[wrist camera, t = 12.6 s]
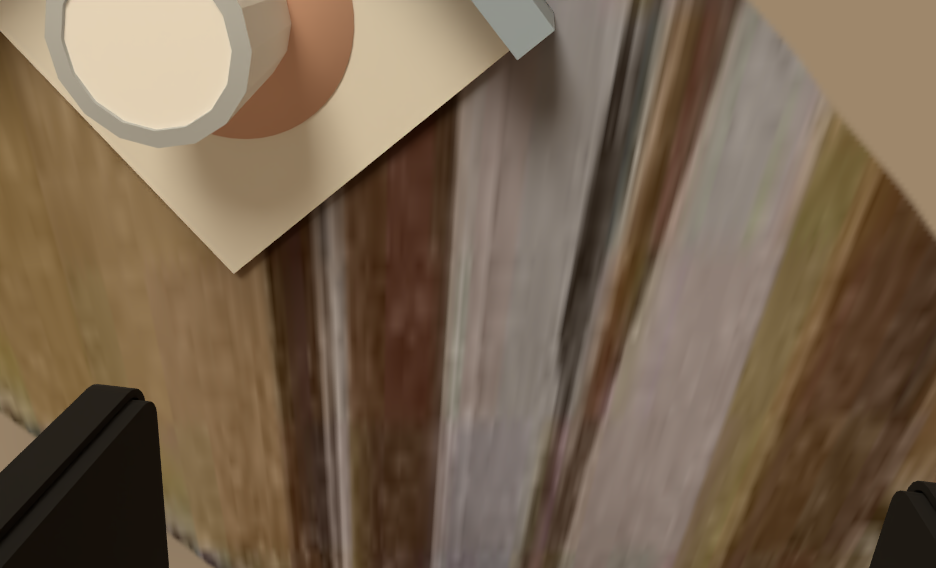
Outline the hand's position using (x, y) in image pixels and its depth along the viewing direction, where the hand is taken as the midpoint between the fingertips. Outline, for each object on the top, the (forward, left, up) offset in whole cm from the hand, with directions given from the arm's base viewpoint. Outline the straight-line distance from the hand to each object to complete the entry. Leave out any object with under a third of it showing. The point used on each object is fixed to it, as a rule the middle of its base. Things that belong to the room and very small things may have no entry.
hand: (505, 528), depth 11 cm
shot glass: (+10, +8, -26) cm, 29 cm away
